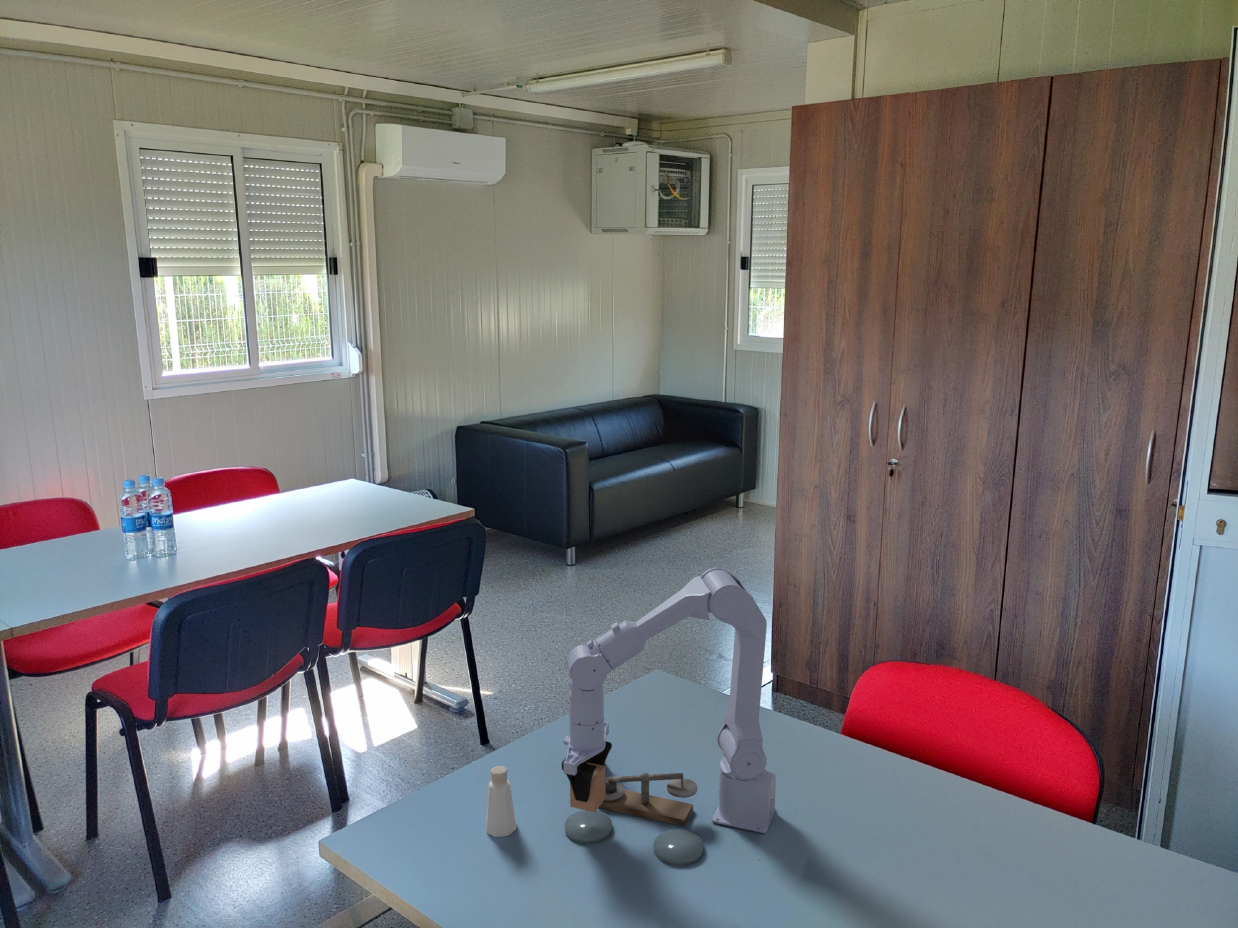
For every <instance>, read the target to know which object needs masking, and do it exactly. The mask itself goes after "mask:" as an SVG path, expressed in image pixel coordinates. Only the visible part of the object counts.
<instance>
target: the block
mask: <svg viewBox="0 0 1238 928" xmlns="http://www.w3.org/2000/svg"><path fill="white" fill-rule="evenodd" d="M587 764H589V765H594V766H597V767H596V769H595V771H594V773H593V776H592V780H591V786H590V794H589V798H588V801H587V802H582V801H578V800H575V797H574V793H573V790H572V786H571V783H570V782H569V799H570V800H569V802H570V803H569V805H570V806H569V807H570V808H574V809H578V810H581V811H584V810H587V811H591V812H596V811H598V809H599V806H600V805H601V804H602V802H603V801H604V799H605V777H606V765H605V766H603V765H598V764H593V763H588V762H587Z"/></svg>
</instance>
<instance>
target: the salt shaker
mask: <svg viewBox="0 0 1238 928" xmlns="http://www.w3.org/2000/svg"><path fill="white" fill-rule="evenodd" d="M490 775H491V776H490V778H491V781H489V782H488V792H487V793H488V794H487V803H486V804H487V807H486V819H485V821H486V822H485V829H486V833H487V835H490V836H492V837H494V838H500V837H502V838H503V837H508V836H510V835H511V834H513V833H514V832H516V830H517V824H516V817H515V815H516V814H515V808H514V803H513V796H512V789H511V782H510V779H508V768H507V767H506V766H504V765H498V766H494V767H493V768H491V770H490Z"/></svg>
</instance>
